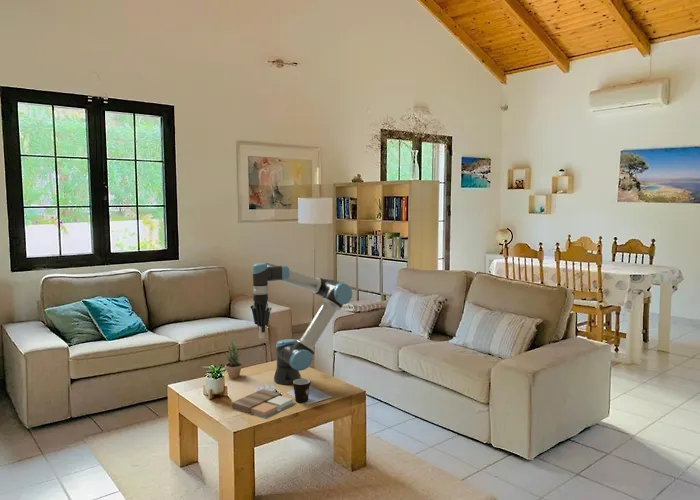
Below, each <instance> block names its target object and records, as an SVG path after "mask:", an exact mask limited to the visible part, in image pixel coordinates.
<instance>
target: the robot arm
mask: <svg viewBox="0 0 700 500" xmlns="http://www.w3.org/2000/svg"><path fill="white" fill-rule="evenodd" d="M251 273H252V293H253V294H252V297H253V305H250V309H251V311H252V312H251V313H252V318H253V322H254V325H256V326H257V331H258V332H257V333H258V339H260V340H262V339H265V335H266V334H265V332H266V326H268V325H269V322H270V315H271V311H272V307H269V304H268V301H269V294H268V293H269V288H268V286H269V285H268V283H269V282H274V281H279V282H282V283H286V284H288V285H291V286H294V287H297V288H301V289H304V290H307V291H310V292H312V294H314V295H317V296H320V297H321V298H322V301H323V302H322V304H321V305H320V307H319V308H318V310H317V312H316V314H315V315H314V316H313V318H312V320H311V321H310V323H309V324H308V326H307V328H306V330H305V331H304V333H303V334H302V336H301V337H300V338H299V339H294V338H291V339H289V338H288V339H286V338H285V339H280V340H278V341H276V343H275V344H276V346H275V348H276V351H275V352H276V369H275V373H274V375H273V381H274V383H276V384H279V385H292V384H293V381H294V380H297V379H302V376H301V375H302V374H301V372H300V371H304V370H307V369H308V368H309V367H310V366H312V363H313V361H314V360H313V354H314V353H315V347H316V345H317V342H318V341H319V340H320V338H321V336H322V335H323V333H324V332H325V330H326V328H327V326H329V323H330V322H331V320H332V319H333V317H334V315H335V313H336V312H337V311H339V310H341V309H342V308H343V307H344V305H347V304H349V303H350V302H351V300H352V297H353V292H352V288H351V287H350V285H349V284H347V283H345V282H343V281H339V280H334V279H329V278H327V279H326V278H321V277H316V278H315V277H313V276H310V275H307V274H303V273H300V272H297V271H293V270H290V269H289V267H288V266H287V265H276V264H272V263H269V262H263V263H262V262H259V263H254V264H253V265H252V272H251Z"/></svg>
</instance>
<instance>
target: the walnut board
mask: <svg viewBox="0 0 700 500" xmlns="http://www.w3.org/2000/svg"><path fill="white" fill-rule="evenodd" d="M277 396H281V393H279V392H276V391H273V390H268V389H265V388H262V389H259V390H258V391H255V392H253V393H251V394H248V395H245V396H243V397H241V398H238V399H236V400H234V401H232V402H231V409H234V410H237V411H240V412H243V413H247V414H250V413H252V412H251V408H252V407H255V406H257V405H259V404H261V403H263V402H265V403H267V401H268V400H270V399H272V398H275V397H277Z"/></svg>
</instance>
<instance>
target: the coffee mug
mask: <svg viewBox="0 0 700 500" xmlns="http://www.w3.org/2000/svg"><path fill="white" fill-rule="evenodd" d="M310 386H311V380H310V379H308V378H301V379H297V380H294V381H293V392H294V393H293V394H294V398H295V399H294V400H295V403H296V404H297V403H298V404H305V403H307V402H308V401H309V396H310V395H309V394H310Z"/></svg>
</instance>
